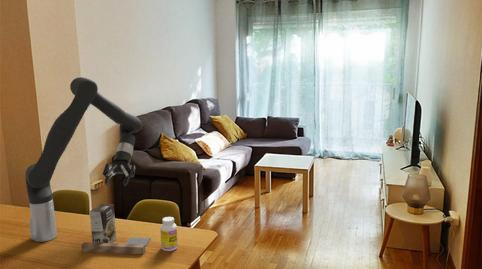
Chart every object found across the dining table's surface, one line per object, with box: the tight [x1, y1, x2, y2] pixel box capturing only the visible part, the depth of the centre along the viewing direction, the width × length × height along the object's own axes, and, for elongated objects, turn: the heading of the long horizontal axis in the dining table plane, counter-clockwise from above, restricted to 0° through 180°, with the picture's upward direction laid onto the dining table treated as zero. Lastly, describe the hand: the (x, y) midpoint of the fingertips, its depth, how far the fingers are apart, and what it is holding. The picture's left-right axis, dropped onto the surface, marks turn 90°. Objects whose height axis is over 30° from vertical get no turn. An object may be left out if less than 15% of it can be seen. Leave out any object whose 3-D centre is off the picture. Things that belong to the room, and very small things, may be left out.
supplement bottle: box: [159, 216, 178, 252], centre depth 163 cm, size 7×7×13 cm
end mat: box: [125, 237, 152, 248], centre depth 168 cm, size 9×10×1 cm
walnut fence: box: [81, 241, 146, 255], centre depth 161 cm, size 26×2×3 cm, turn 84°
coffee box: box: [89, 203, 117, 243], centre depth 168 cm, size 9×6×16 cm
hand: (115, 184), depth 180 cm, fingers open, 8 cm apart
